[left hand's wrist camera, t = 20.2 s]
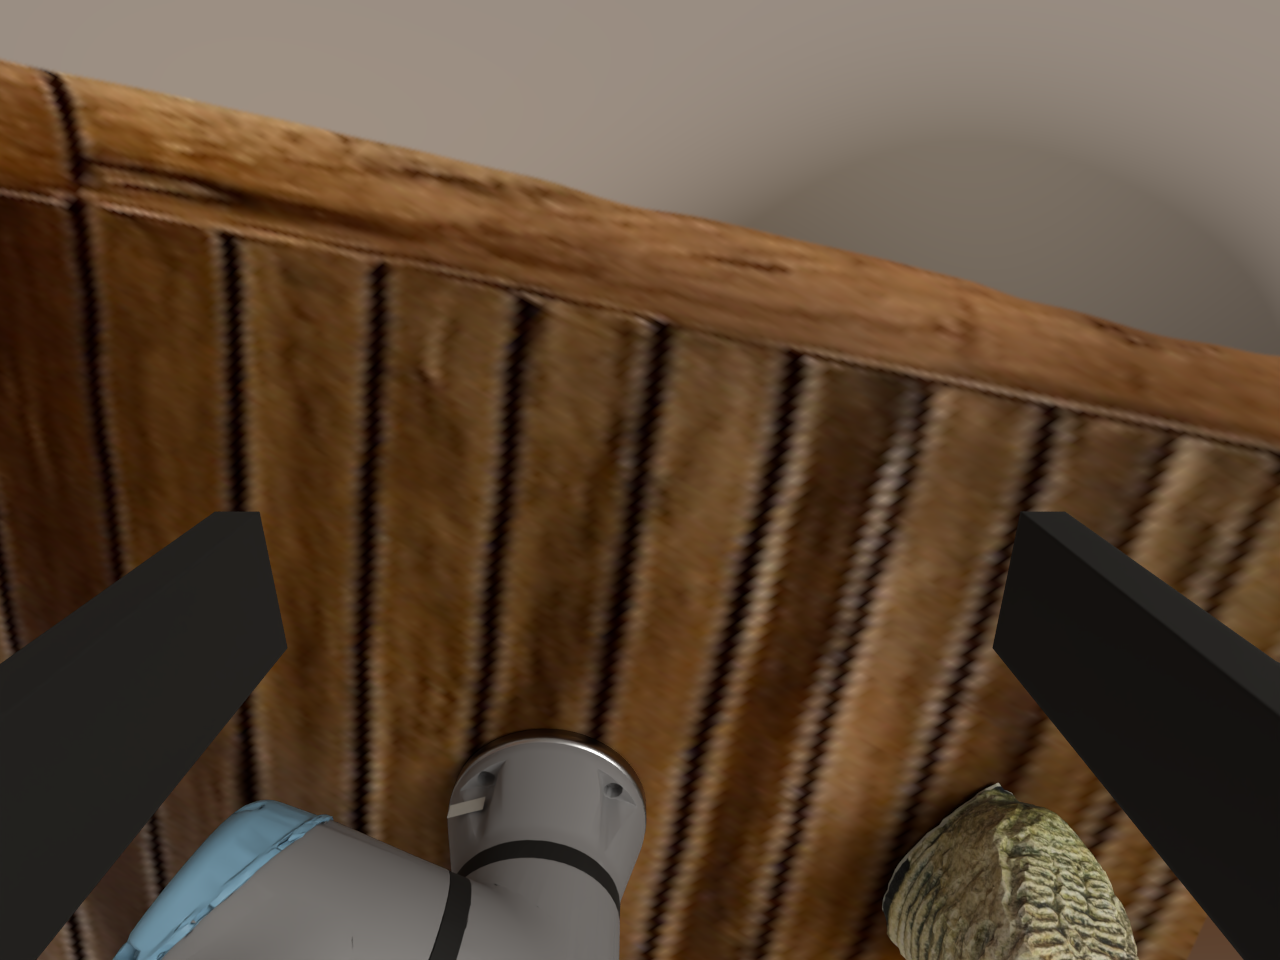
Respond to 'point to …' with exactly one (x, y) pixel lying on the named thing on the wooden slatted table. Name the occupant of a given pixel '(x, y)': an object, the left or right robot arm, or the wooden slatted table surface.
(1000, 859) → the fossil
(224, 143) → the wooden slatted table surface
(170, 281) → the wooden slatted table surface
